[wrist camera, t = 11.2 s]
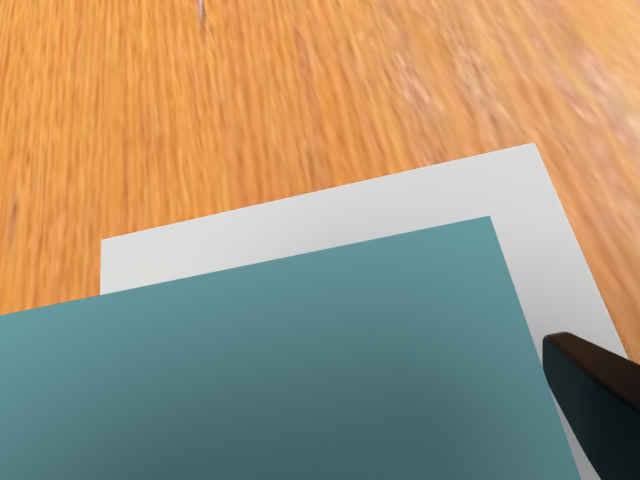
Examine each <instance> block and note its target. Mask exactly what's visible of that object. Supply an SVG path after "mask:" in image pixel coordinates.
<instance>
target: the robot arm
mask: <svg viewBox="0 0 640 480" xmlns="http://www.w3.org/2000/svg"><path fill="white" fill-rule="evenodd" d="M542 368H543V371H544V374H545V376H546V379H547V382H548V385H549V387H550V389H551V391H552V393H553V395H554V397H555V399H556V401H557V403H558V404H559V406H560V408H561V410H562V412H563V414H564V416H565V418H566V420H567V421H568V423H569V425H570V427H571V429H572V431H573V433H574V435H575V437H576V438H577V440H578V442H579V444H580V446H581V448H582V450H583V451H584V453H585V455H586V457H587V458H588V460H589V462H590V463H591V465H592V466H593V468H594V470H595V471H596V473H597V474H598V476H599V477H600V479H601V480H640V365H639V364H637V363H635V362H633V361H631V360H629V359H626V358H624V357H622V356H620V355H618V354H616V353H613V352H611V351H609V350H607V349H605V348H602V347H600V346H598V345H596V344H594V343H592V342H589V341H587V340H585V339H583V338H581V337H578V336H576V335H574V334H572V333H569V332H558V333H552V334H547V335H545V336H544V337H543V341H542Z"/></svg>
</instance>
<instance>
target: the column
mask: <svg viewBox="0 0 640 480" xmlns="http://www.w3.org/2000/svg"><path fill="white" fill-rule="evenodd" d="M0 480H581V478H580V475H579V472H578V469H577V466H576V463H575V460H574V457H573V454H572V452H571V449H570V446H569V443H568V440H567V437H566V434H565V431H564V428H563V426H562V423H561V420H560V417H559V414H558V411H557V408H556V405H555V402H554V400H553V397H552V394H551V391H550V388H549V385H548V382H547V379H546V376H545V374H544V371H543V368H542V365H541V362H540V359H539V356H538V353H537V350H536V348H535V345H534V342H533V339H532V336H531V333H530V330H529V327H528V324H527V322H526V319H525V316H524V313H523V310H522V307H521V304H520V301H519V298H518V296H517V293H516V290H515V287H514V284H513V281H512V278H511V275H510V272H509V270H508V267H507V264H506V261H505V258H504V255H503V252H502V249H501V246H500V244H499V241H498V238H497V235H496V232H495V229H494V226H493V223H492V220H491V218H490V216H485V217H480V218H475V219H470V220H465V221H460V222H455V223H451V224H446V225H441V226H436V227H431V228H426V229H421V230H416V231H411V232H407V233H402V234H397V235H392V236H387V237H382V238H377V239H372V240H367V241H362V242H358V243H353V244H348V245H343V246H338V247H333V248H328V249H323V250H318V251H314V252H309V253H304V254H299V255H294V256H289V257H284V258H279V259H274V260H269V261H265V262H260V263H255V264H250V265H245V266H240V267H235V268H230V269H225V270H220V271H216V272H211V273H206V274H201V275H196V276H191V277H186V278H181V279H176V280H172V281H167V282H162V283H157V284H152V285H147V286H142V287H137V288H132V289H127V290H123V291H118V292H113V293H108V294H103V295H98V296H93V297H88V298H83V299H79V300H74V301H69V302H64V303H59V304H54V305H49V306H44V307H39V308H34V309H30V310H25V311H20V312H15V313H10V314H5V315H0Z"/></svg>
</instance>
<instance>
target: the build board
mask: <svg viewBox="0 0 640 480" xmlns="http://www.w3.org/2000/svg"><path fill="white" fill-rule="evenodd" d="M485 216H490V218H491V220H492V223H493V226H494V229H495V232H496V235H497V238H498V241H499V244H500V246H501V249H502V252H503V255H504V258H505V261H506V264H507V267H508V270H509V272H510V275H511V278H512V281H513V284H514V287H515V290H516V293H517V296H518V298H519V301H520V304H521V307H522V310H523V313H524V316H525V319H526V322H527V324H528V327H529V330H530V333H531V336H532V339H533V342H534V345H535V348H536V350H537V353H538V356H539V359H540V362H541V365H542V341H543V337H544V336H545V335H547V334H552V333H558V332H569V333H572V334H574V335H576V336H578V337H581V338H583V339H585V340H587V341H589V342H592V343H594V344H596V345H598V346H600V347H602V348H605V349H607V350H609V351H611V352H613V353H616V354H618V355H620V356H622V357H624V358H626V359H628V357H627V354H626V352H625V350H624V347H623V345H622V343H621V341H620V338H619V336H618V334H617V331H616V329H615V327H614V324H613V322H612V320H611V318H610V315H609V313H608V311H607V308H606V306H605V304H604V301H603V299H602V297H601V295H600V292H599V290H598V288H597V285H596V283H595V281H594V278H593V276H592V274H591V271H590V269H589V267H588V265H587V262H586V260H585V258H584V255H583V253H582V251H581V248H580V246H579V244H578V242H577V239H576V237H575V235H574V232H573V230H572V228H571V225H570V223H569V221H568V219H567V216H566V214H565V212H564V209H563V207H562V205H561V202H560V200H559V198H558V196H557V193H556V191H555V189H554V186H553V184H552V182H551V179H550V177H549V175H548V172H547V170H546V168H545V166H544V163H543V161H542V159H541V156H540V154H539V152H538V149H537V147H536V145H535V143H534V142H533V143H529V144H525V145H520V146H516V147H511V148H507V149H502V150H498V151H494V152H489V153H485V154H480V155H476V156H471V157H467V158H462V159H458V160H454V161H449V162H445V163H440V164H436V165H431V166H427V167H423V168H418V169H414V170H409V171H405V172H400V173H396V174H391V175H387V176H383V177H378V178H374V179H369V180H365V181H360V182H356V183H352V184H347V185H343V186H338V187H334V188H329V189H325V190H320V191H316V192H312V193H307V194H303V195H298V196H294V197H289V198H285V199H281V200H276V201H272V202H267V203H263V204H258V205H254V206H249V207H245V208H241V209H236V210H232V211H227V212H223V213H218V214H214V215H210V216H205V217H201V218H196V219H192V220H187V221H183V222H178V223H174V224H170V225H165V226H161V227H156V228H152V229H147V230H143V231H139V232H134V233H130V234H125V235H121V236H116V237H112V238H107V239H103V240H101V281H100V295H103V294H108V293H113V292H118V291H123V290H127V289H132V288H137V287H142V286H147V285H152V284H157V283H162V282H167V281H172V280H176V279H181V278H186V277H191V276H196V275H201V274H206V273H211V272H216V271H220V270H225V269H230V268H235V267H240V266H245V265H250V264H255V263H260V262H265V261H269V260H274V259H279V258H284V257H289V256H294V255H299V254H304V253H309V252H314V251H318V250H323V249H328V248H333V247H338V246H343V245H348V244H353V243H358V242H362V241H367V240H372V239H377V238H382V237H387V236H392V235H397V234H402V233H407V232H411V231H416V230H421V229H426V228H431V227H436V226H441V225H446V224H451V223H455V222H460V221H465V220H470V219H475V218H480V217H485ZM549 388H550V387H549ZM550 391H551V389H550ZM551 394H552V397H553V400H554V402H555V405H556V408H557V411H558V414H559V417H560V420H561V423H562V426H563V428H564V431H565V434H566V437H567V440H568V443H569V446H570V449H571V452H572V454H573V457H574V460H575V463H576V466H577V469H578V472H579V475H580V478H581V480H601V479H600V477H599V476H598V474H597V473H596V471H595V470H594V468H593V466H592V465H591V463H590V462H589V460H588V458H587V457H586V455H585V453H584V451H583V450H582V448H581V446H580V444H579V442H578V440H577V438H576V437H575V435H574V433H573V431H572V429H571V427H570V425H569V423H568V421H567V420H566V418H565V416H564V414H563V412H562V410H561V408H560V406H559V404H558V403H557V401H556V399H555V397H554V395H553V393H552V391H551Z"/></svg>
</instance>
